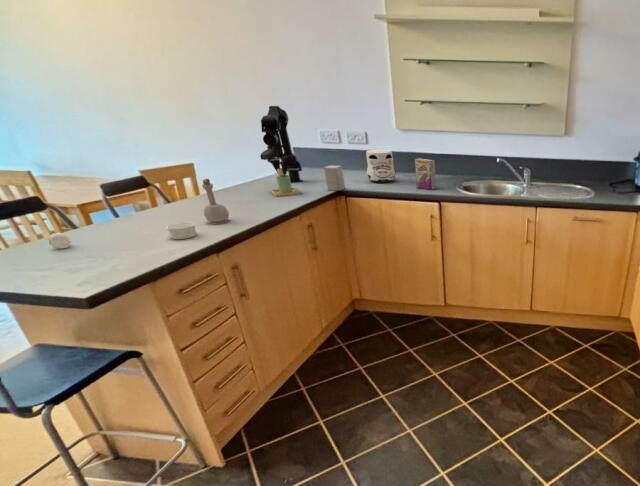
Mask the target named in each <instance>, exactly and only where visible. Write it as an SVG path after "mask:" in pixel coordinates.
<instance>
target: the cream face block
mask: <svg viewBox="0 0 640 486" xmlns="http://www.w3.org/2000/svg"><path fill="white" fill-rule="evenodd" d="M365 155H366V163H367V169H366V175H367V178H368V180H369V181H371V182H374V183H389V182H393V181H395V180H396V178H397V171H396V169H395V165H394V158H393V152H392V150H391V149H368V150H366V153H365Z"/></svg>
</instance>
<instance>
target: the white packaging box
mask: <svg viewBox="0 0 640 486" xmlns="http://www.w3.org/2000/svg"><path fill="white" fill-rule="evenodd" d="M323 171H324V177H325V182H326V186H327V191H342V190H345V189H346V184H345V178H344V177H345V176H344V172H343V166H342V165H327V166H325V167H323Z"/></svg>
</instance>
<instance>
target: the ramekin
mask: <svg viewBox="0 0 640 486" xmlns="http://www.w3.org/2000/svg"><path fill="white" fill-rule="evenodd" d="M166 230H167V232H168V234H169V236H170V238H172V239H173V240H185V239H186V240H187V239H190V238H193V237H196V236H197V231H196V223H194V222H177V223H172V224H169V225H167V226H166Z"/></svg>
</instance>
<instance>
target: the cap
mask: <svg viewBox="0 0 640 486" xmlns="http://www.w3.org/2000/svg"><path fill="white" fill-rule="evenodd" d="M276 173H277V176H279V175H284V173H283V170H282V167H280V168H278V169H277V171H276Z"/></svg>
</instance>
